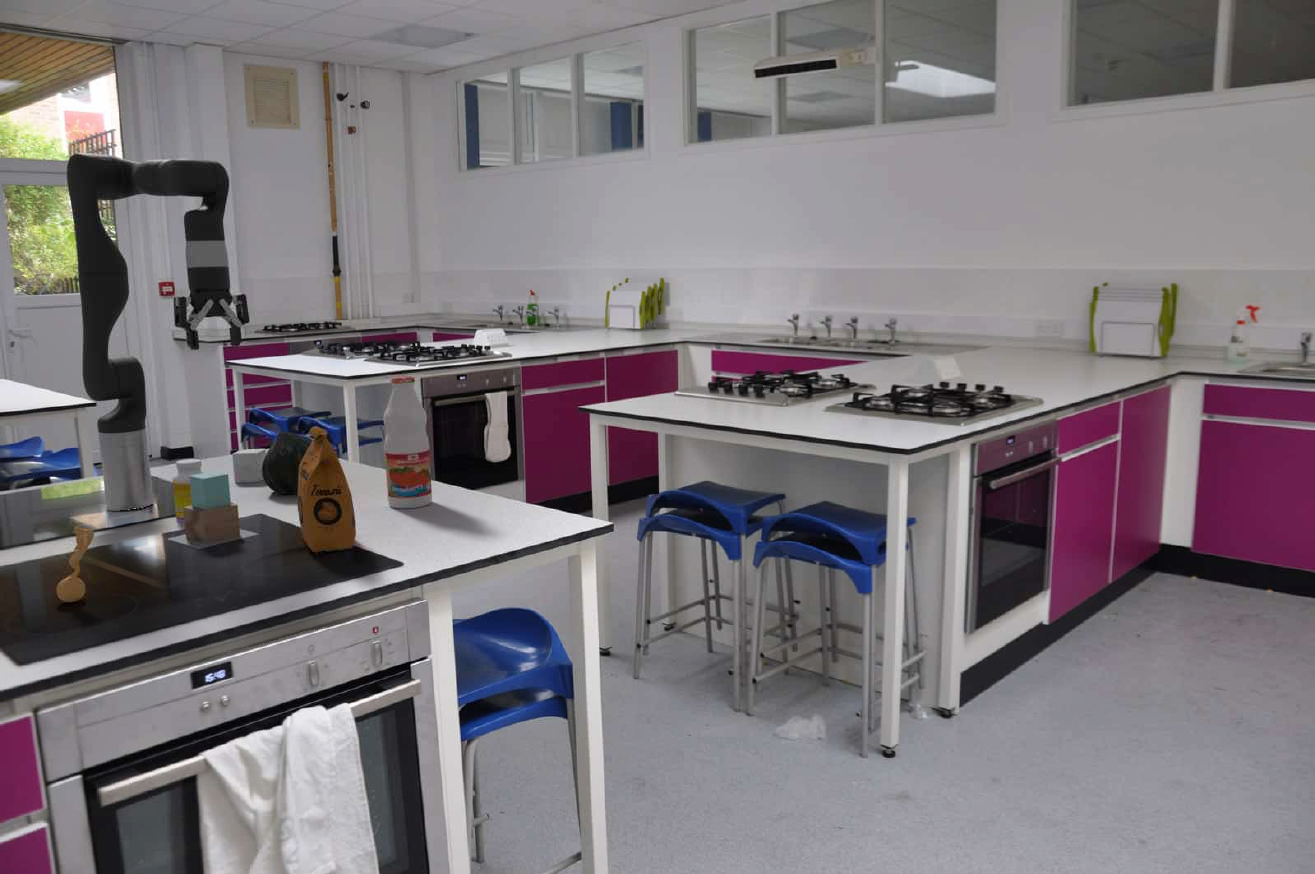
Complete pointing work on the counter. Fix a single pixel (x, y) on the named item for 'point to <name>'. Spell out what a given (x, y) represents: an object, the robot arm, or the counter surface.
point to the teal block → (210, 490)
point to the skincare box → (248, 465)
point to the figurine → (73, 586)
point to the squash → (284, 462)
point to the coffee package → (324, 497)
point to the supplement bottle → (184, 484)
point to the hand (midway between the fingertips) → (215, 347)
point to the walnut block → (211, 523)
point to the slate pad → (200, 545)
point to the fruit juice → (406, 447)
